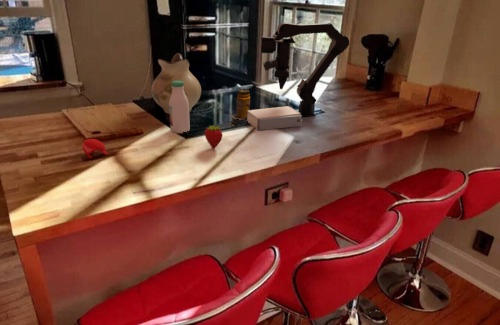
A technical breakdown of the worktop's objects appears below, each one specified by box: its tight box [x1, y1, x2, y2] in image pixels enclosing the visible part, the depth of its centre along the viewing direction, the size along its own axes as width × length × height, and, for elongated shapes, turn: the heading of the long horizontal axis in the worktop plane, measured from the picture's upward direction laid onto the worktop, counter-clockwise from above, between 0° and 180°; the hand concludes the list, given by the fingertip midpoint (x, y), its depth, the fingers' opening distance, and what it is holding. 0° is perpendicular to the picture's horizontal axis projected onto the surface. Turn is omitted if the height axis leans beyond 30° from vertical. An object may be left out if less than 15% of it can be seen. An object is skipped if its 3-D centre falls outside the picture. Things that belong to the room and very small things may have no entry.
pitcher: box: [151, 52, 202, 115], centre depth 172 cm, size 22×24×25 cm
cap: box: [81, 138, 108, 159], centre depth 128 cm, size 8×6×6 cm
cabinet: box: [246, 105, 301, 130], centre depth 163 cm, size 20×11×5 cm, turn 113°
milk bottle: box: [169, 81, 191, 134], centre depth 149 cm, size 8×8×20 cm
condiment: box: [229, 89, 251, 121], centre depth 168 cm, size 7×8×12 cm
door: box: [256, 115, 303, 131], centre depth 156 cm, size 20×2×5 cm, turn 109°
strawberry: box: [204, 122, 223, 149], centre depth 135 cm, size 6×8×10 cm
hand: (281, 89), depth 169 cm, fingers closed
